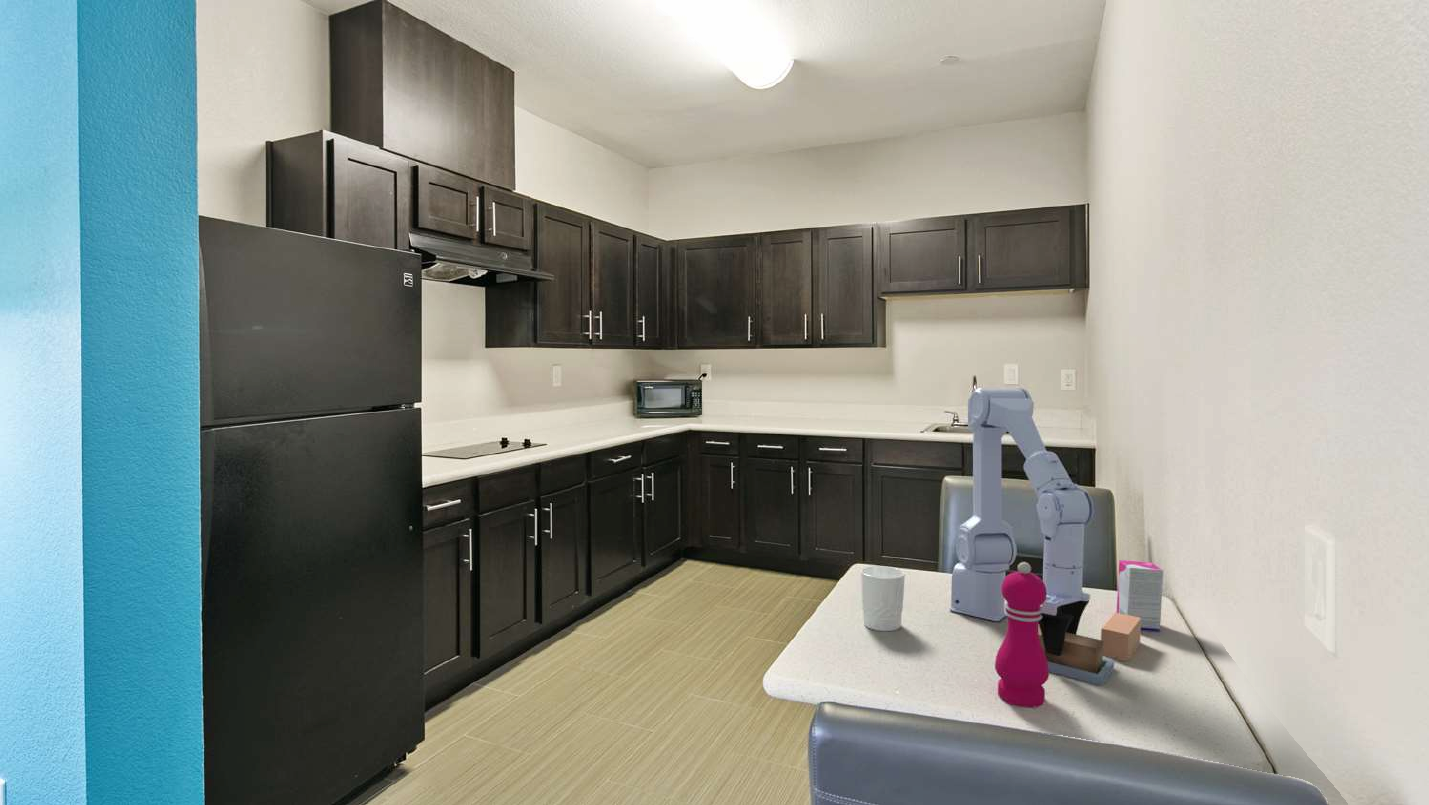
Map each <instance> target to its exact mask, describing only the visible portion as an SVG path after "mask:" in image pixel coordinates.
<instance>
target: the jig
mask: <svg viewBox="0 0 1429 805" xmlns="http://www.w3.org/2000/svg"><path fill="white" fill-rule="evenodd" d="M1047 662H1048V666H1049V673H1054V674H1057V675H1061V676H1064V677H1069V678H1073V679H1074V680H1075V679H1076V680H1080V681H1083V682H1086V683H1087V682H1088V683H1090V682H1091V683H1092V684H1095V685H1097V686H1103V685H1104V683H1105V682H1106V681H1107V679H1108V678H1109V676H1110V675H1111V674H1112V672H1113V670H1114V669H1115V660H1111V659H1108V658H1103V657H1102V669H1101V671H1100V672H1099V673H1098V674H1095V673H1092V672H1088V671H1084V670H1080V669H1076V668H1072V667H1068V666H1064V665H1061V664H1057V663H1053V662H1049V661H1047ZM1107 677H1108V678H1107ZM1105 680H1106V681H1105ZM1091 683H1090V684H1091Z"/></svg>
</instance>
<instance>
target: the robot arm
mask: <svg viewBox="0 0 1429 805" xmlns="http://www.w3.org/2000/svg"><path fill="white" fill-rule="evenodd" d="M1034 406H1035V404H1034V401H1033V399H1032V397H1031V395H1030V392H1029V391H1028V390H1027V389H1025V388H1024V387H1019V388H975V389H974V390H973V392H972V393H971V395H970V396H969V398H968V400H967V428H968V430H969V431H971V432H972V462H973V463H972V466H973V467H972V484H973V485H972V490H973V491H972V492H973V493H972V494H973V495H972V498H973V499H972V500H973V502H972V503H973V504H972V506H973V509H972V510H973V511H972V513H973V514H972V516H971V517H969V519H968V520H966V521H965V522H963V523H961V524H960V525H959V526H958V527H959V529H958V536H957V540H956V546H955V548H956V551H955V552H956V555H957V558H958V561H959V562H958V563H956V564H955V566H954V567H953V571H952V575H951V592H950V593H951V595H950V596H951V597H950V602H951V604H950V607H949V611H951V612H954V613H958V614H963V615H967V616H972V617H976V618H979V619H985V620H989V621H993V622H1000V621H1002V619H1004V618H1005V617H1007V616H1006V615H1005V613H1004V611H1005V604H1006V603H1005V601H1006V600H1005V598H1004V597H1003V595H1002V591H1001V588H1002V582H1003V580H1004V579H1005V577H1006V570H1007V571H1008V570H1010V566H1011V565H1012V564H1014V562H1015V560H1016V557H1017V552H1018V551H1017V544H1016V541H1015V537H1014V536H1015V535H1014V529H1013V527H1012V526H1011V525H1010V524H1008V523H1007V522H1006V521H1005V520H1003V519H1002V438H1003V436H1005V434H1007V432H1008V434H1009V435H1010V437H1011V438H1012V440H1013V442H1014V443H1015V444H1016V445H1017V447H1018V449H1019V450H1020V452H1021V453H1022V455H1023V456H1024V458H1025V462H1024V464H1023V471H1024V472H1025V475H1026V477H1027V479H1028V480H1029V482H1030V484H1031V486H1032V488H1033V490H1034V493H1035V494H1036V496H1037V498H1038V500H1037V503H1036V511H1037V512H1036V513H1037V515H1038V518H1039V523H1040V532H1041V534H1042V535H1043V562H1042V564H1043V565H1042V581H1043V582H1044V584H1045V586H1046V592H1047V595H1046V600H1045V601H1044V603H1043V604H1042V605H1041V606H1040V607H1041V608H1042V613H1041V615H1042V619H1041V620H1039V623H1038V626H1039V627H1040V629H1041V633H1042V637H1043V642H1044V647H1045V651H1046V653H1048V654H1052V655H1056V656H1060V655H1061V653H1062V650H1063V646H1064V640H1065V635H1066V632H1067V633H1071V634H1076V635H1078V633H1077V632H1078V630H1079V626H1080V621H1081V618H1082V616H1083V614H1084V610H1085V609H1086V608H1087V606H1088V604H1089V602H1090V600H1091V594H1089V593H1085V592H1084V591H1083V574H1084V571H1083V570H1084V545H1085V544H1084V541H1085V539H1084V538H1085V525H1088V524H1089V523H1090V522H1091V521H1092V519H1093V516H1094V503H1093V500H1092V498H1091V495H1090V493H1089V492H1088V490H1086V489H1085V488H1083V487H1080V486H1079V484H1077V483H1074V482H1073V481H1072V479H1071V478H1070V476H1069V474H1068V472H1067V470H1066V469H1065V467H1064V465H1063V464H1062V462H1061V460H1060V458H1059V456H1058V455H1057V454H1056V453H1055V452H1053V451H1047V449H1046V446H1045V444H1044V441H1043V440H1042V438H1041V435H1040V433H1039V430H1038V428H1037V425H1036V424H1035V423H1036V422H1035V421H1034V419H1033V414H1034V409H1035V408H1034Z"/></svg>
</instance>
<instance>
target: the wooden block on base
mask: <svg viewBox="0 0 1429 805" xmlns="http://www.w3.org/2000/svg"><path fill="white" fill-rule="evenodd" d="M1038 636H1039V640H1040V644H1041V647H1042V650H1043V652H1044V654H1045V656H1046V659H1047V661H1049V662H1053V663H1057V664H1061V665H1064V666H1068V667H1072V668H1076V669H1080V670H1084V671H1088V672H1092V673H1095V674H1098V673H1099V672H1100V671H1101V669H1102V658H1103V657H1104V655H1103V641H1102V640H1101V639H1096V638H1093V637H1088V636H1084V635H1079V634H1071V633H1067V632H1066V635H1065V640H1064V646H1063V650H1062V653H1061V655H1060V656H1056V655H1052V654H1048V653H1046V651H1045V647H1044V642H1043V637H1042V633H1041V629H1040V627H1039V625H1038Z"/></svg>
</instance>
